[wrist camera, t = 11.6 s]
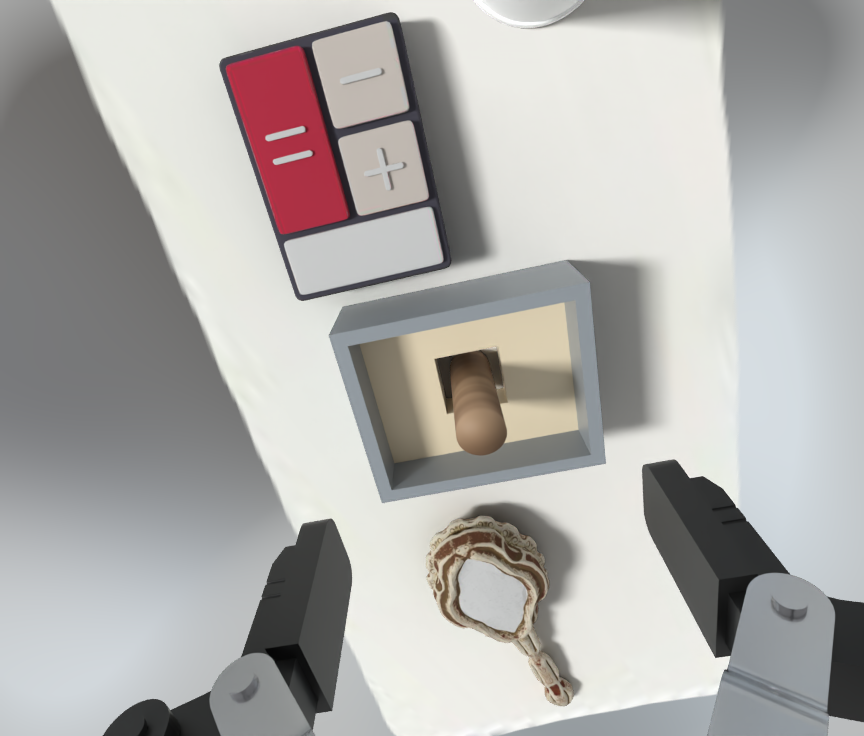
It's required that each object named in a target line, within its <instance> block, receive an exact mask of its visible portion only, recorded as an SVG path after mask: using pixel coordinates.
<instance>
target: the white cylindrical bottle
mask: <svg viewBox="0 0 864 736" xmlns="http://www.w3.org/2000/svg"><path fill="white" fill-rule="evenodd" d="M473 1H474V2H475V3H476V4H477V5H478V7H479V8H480V9H481V10H483V11H484V12H485V13H486V14H487V15H489V16H490V17H492V18H493V19H495V20H497V21H498V22H501V23H503V24H505V25H509V26H512V27H517V28H536V27H542V26H546V25H549V24H552V23H554V22H556V21H558V20H560V19H562V18H564V17H565V16H567V15H568V14H570V13H571V12H572V11H574V10H575V9H576V8H577V7H578V6H579V5H580V4H581V3H582V2H583V1H584V0H473Z"/></svg>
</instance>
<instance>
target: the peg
mask: <svg viewBox="0 0 864 736" xmlns="http://www.w3.org/2000/svg"><path fill="white" fill-rule="evenodd" d="M450 378H451V388H452V399H453V410H454V420H455V431H456V439H457V442H458V444H459V446H460V447H461V448H462V449H463V450H464V451H466V452H468V453H470V454H473V455H479V456H481V455H488V454H491V453H493V452H495V451H497V450H498V449H499V448H501V446H502V445H503V444H504V442H505V440H506V437H507V428H506V424H505V421H504V417H503V413H502V409H501V406H500V402H499V398H498V394H497V390H496V387H495V383H494V379H493V375H492V372H491V368H490V364H489V361H488V359H487V357H486V356H485V355H484V354H483V353H482V352H480V351H478V350H477V351H472V352H467V353H462V354H457V355H455V356H454V357H453V359H452V360H451V363H450Z"/></svg>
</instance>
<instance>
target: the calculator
mask: <svg viewBox="0 0 864 736" xmlns="http://www.w3.org/2000/svg"><path fill="white" fill-rule="evenodd" d="M219 67H220V71H221V74H222V77H223V80H224V83H225V86H226V89H227V92H228V95H229V98H230V101H231V104H232V107H233V110H234V113H235V116H236V119H237V122H238V125H239V128H240V131H241V134H242V137H243V140H244V143H245V146H246V149H247V152H248V155H249V158H250V161H251V164H252V167H253V170H254V173H255V176H256V179H257V182H258V185H259V188H260V191H261V194H262V197H263V200H264V203H265V206H266V209H267V212H268V215H269V218H270V221H271V224H272V227H273V230H274V233H275V236H276V239H277V242H278V245H279V248H280V251H281V254H282V257H283V260H284V263H285V266H286V269H287V272H288V275H289V278H290V281H291V284H292V287H293V290H294V293H295V295H296V297H297V299H299V300H301V301H305V300H310V299H314V298H318V297H323V296H327V295H331V294H336V293H340V292H345V291H349V290H353V289H358V288H362V287H366V286H371V285H375V284H379V283H384V282H388V281H392V280H397V279H401V278H406V277H410V276H414V275H419V274H423V273H427V272H432V271H436V270H440V269H445V268H447V267H449V266H450V264H451V256H450V250H449V245H448V241H447V236H446V231H445V227H444V222H443V218H442V213H441V208H440V204H439V199H438V194H437V190H436V185H435V181H434V176H433V171H432V167H431V162H430V157H429V153H428V148H427V143H426V139H425V134H424V130H423V125H422V120H421V116H420V111H419V106H418V102H417V97H416V92H415V88H414V83H413V78H412V74H411V69H410V65H409V60H408V55H407V51H406V46H405V41H404V37H403V32H402V28H401V24H400V20H399V18H398V16H397V15H396V14H395V13H392V12H390V13H386V14H382V15H378V16H375V17H371V18H367V19H364V20H360V21H357V22H353V23H349V24H346V25H342V26H338V27H335V28H331V29H328V30H324V31H320V32H317V33H313V34H309V35H306V36H302V37H299V38H295V39H291V40H288V41H284V42H280V43H277V44H273V45H270V46H266V47H262V48H259V49H255V50H251V51H248V52H244V53H240V54H237V55H233V56H230V57H226V58H224V59H222V60H221V61H220V65H219Z"/></svg>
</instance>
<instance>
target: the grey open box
mask: <svg viewBox="0 0 864 736" xmlns="http://www.w3.org/2000/svg"><path fill="white" fill-rule="evenodd" d="M329 338H330V341H331V344H332V347H333V350H334V353H335V356H336V360H337V363H338V366H339V369H340V372H341V375H342V379H343V382H344V385H345V388H346V391H347V394H348V397H349V401H350V404H351V407H352V410H353V413H354V416H355V419H356V423H357V426H358V429H359V432H360V435H361V438H362V442H363V445H364V448H365V451H366V454H367V457H368V460H369V464H370V467H371V470H372V473H373V476H374V479H375V483H376V486H377V489H378V492H379V495H380V498H381V501H382V503H385V502H391V501H397V500H402V499H408V498H414V497H419V496H425V495H431V494H436V493H442V492H448V491H453V490H459V489H465V488H470V487H476V486H482V485H487V484H493V483H499V482H504V481H510V480H516V479H521V478H527V477H533V476H538V475H544V474H550V473H555V472H561V471H567V470H572V469H578V468H584V467H589V466H595V465H601V464H606V459H605V448H604V437H603V426H602V414H601V403H600V392H599V381H598V369H597V358H596V347H595V336H594V324H593V313H592V302H591V291H590V282H589V281H588V280H587V279H586V278H585V277H584V276H583V275H582V274H581V273H580V272H579V271H578V270H577V269H576V268H575V267H573V266H572V265H571V264H570V263H569V262H568V261H567V260H564V261H560V262H555V263H550V264H545V265H541V266H536V267H531V268H526V269H522V270H517V271H512V272H507V273H502V274H498V275H493V276H488V277H483V278H479V279H474V280H469V281H464V282H459V283H455V284H450V285H445V286H440V287H436V288H431V289H426V290H421V291H417V292H412V293H407V294H402V295H397V296H393V297H388V298H383V299H378V300H374V301H369V302H364V303H359V304H354V305H350V306H345V307H342V309H341V311H340V313H339V316H338V318H337V320H336V322H335V324H334V326H333V328H332V330H331V332H330V334H329ZM492 347H497V352H498V358H499V364H500V369H501V375H502V381H503V387H504V388H501V389H496V390H497V394H498V398H499V402H500V406H501V409H502V413H503V417H504V421H505V424H506V428H507V437H506V440H505V442H504V444H503V445H502V446H501V448H499V449H498V450H497V451H495V452H493V453H491V454H488V455H481V456H479V455H473V454H470V453H468V452H466V451H464V450H463V449H462V448H461V447H460V446H459V444H458V442H457V439H456V431H455V420H454V410H453V399H452V398H449V399H446V397H445V392H444V388H443V384H442V379H441V375H440V371H439V366H438V362H437V358H441V357H447V356H452V355H457V354H462V353H467V352H472V351H477V350H482V349H487V348H492Z"/></svg>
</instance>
